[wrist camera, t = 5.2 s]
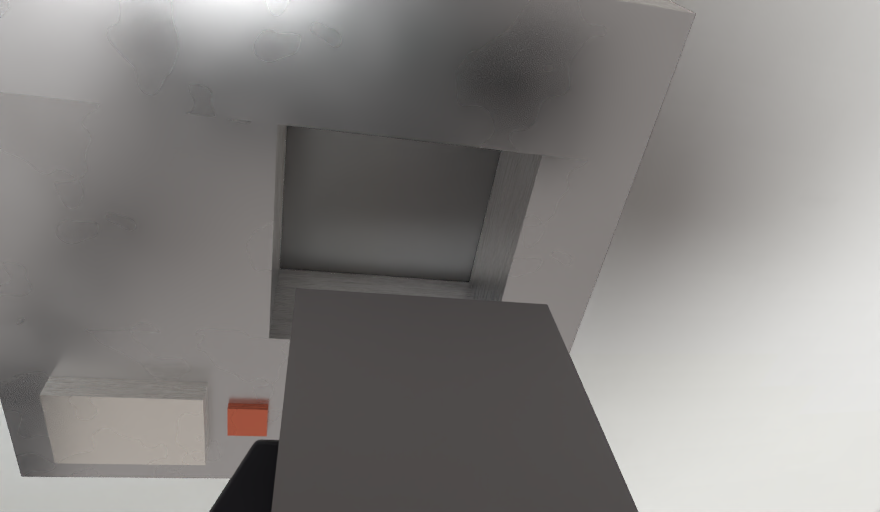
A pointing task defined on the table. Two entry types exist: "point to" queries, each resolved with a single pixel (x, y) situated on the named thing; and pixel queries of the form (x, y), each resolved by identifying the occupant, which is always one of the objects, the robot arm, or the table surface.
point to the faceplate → (275, 192)
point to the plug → (436, 410)
